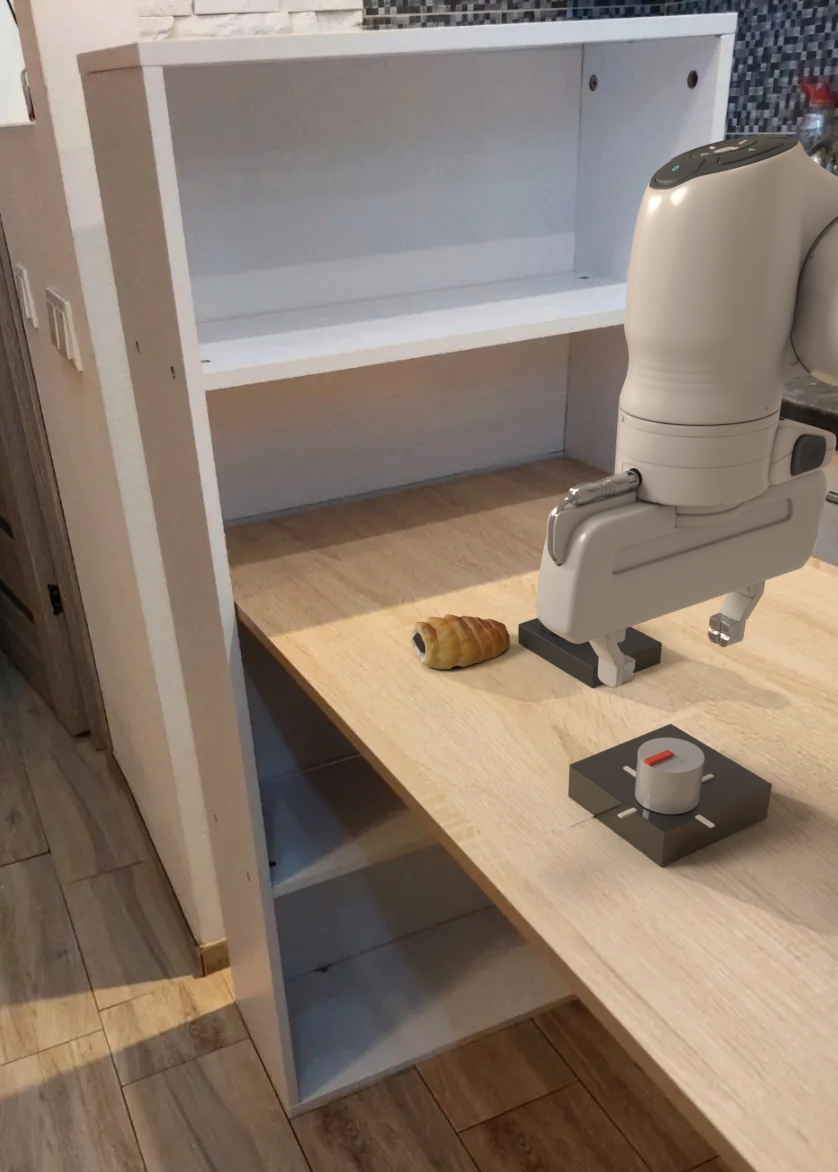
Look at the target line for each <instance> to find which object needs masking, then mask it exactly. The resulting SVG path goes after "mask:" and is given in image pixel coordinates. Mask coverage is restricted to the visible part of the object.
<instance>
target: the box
mask: <svg viewBox="0 0 838 1172" xmlns="http://www.w3.org/2000/svg"><path fill="white" fill-rule="evenodd" d="M517 626H518V627H517V633H518V634H517V643H518V645H520V646H522V647H524V648H525V649H527V650H529V651H530V652H531V653H533V654H534V655H536V656H538V657H540V658H542V659H543V660H545V661H546V662H548V663H550V664H551V665H553V666H555V667H556V668H558V669H560V670H561V671H563V672H564V673H566V674H568V675H569V676H571V677H573V678H574V679H576V680H578V681H579V682H580V683H582V684H584V685H586V686H587V687H589V688H591V689H595V688H598V687H601V686H603V685H605V684H604V683H603V682H601V681H600V679H599V677H598V661H599V656H598V655H597V654H596V652H595V651H594V649H593V647H592V646H591V644H590V642H589V641H588V642H585V643H581V644H575V643H572V642H570V641H568V640H566V639H564V638H562V637H561V636H559V635H557V634H555V633H554V632H552V631H551V630H549V629H548V628H546V627H545V626H544V625H543V624H542V622H541V621H540V620H539V619H538V617H536V618H533V619H530V620H526V621H524V622H521V623H519V624H518V625H517ZM617 645H618V647H619V649H620V651H621V652H623V653H624V655H628V656H630V657H632V658H633V659H635V669H634V671H633V674H636V673H638V672H640V671H644V670H645V669H649V668H651V667H654V666H656V665H659V664H661V660H662V650H663V649H662V648H663V642H661V641H659V640H657V639H656V638H653V637H652V636H650V635H648V634H646V633H644V632H642V631H640V630H638V629H636V628H634V627H633V626H631V627H628V628H626V632H625V640H624V641H623V642H620V643H618V642H617Z"/></svg>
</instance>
